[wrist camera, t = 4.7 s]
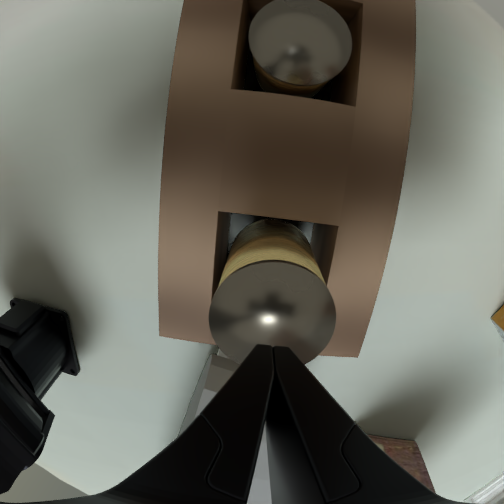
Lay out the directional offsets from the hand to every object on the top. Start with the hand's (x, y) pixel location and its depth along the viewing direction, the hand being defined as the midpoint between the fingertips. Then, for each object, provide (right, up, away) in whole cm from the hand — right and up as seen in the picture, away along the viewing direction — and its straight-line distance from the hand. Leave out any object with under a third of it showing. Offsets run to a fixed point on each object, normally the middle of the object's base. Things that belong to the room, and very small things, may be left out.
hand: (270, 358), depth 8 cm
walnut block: (+1, +8, +10) cm, 13 cm away
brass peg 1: (+2, +13, +8) cm, 15 cm away
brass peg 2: (0, +2, +8) cm, 8 cm away
